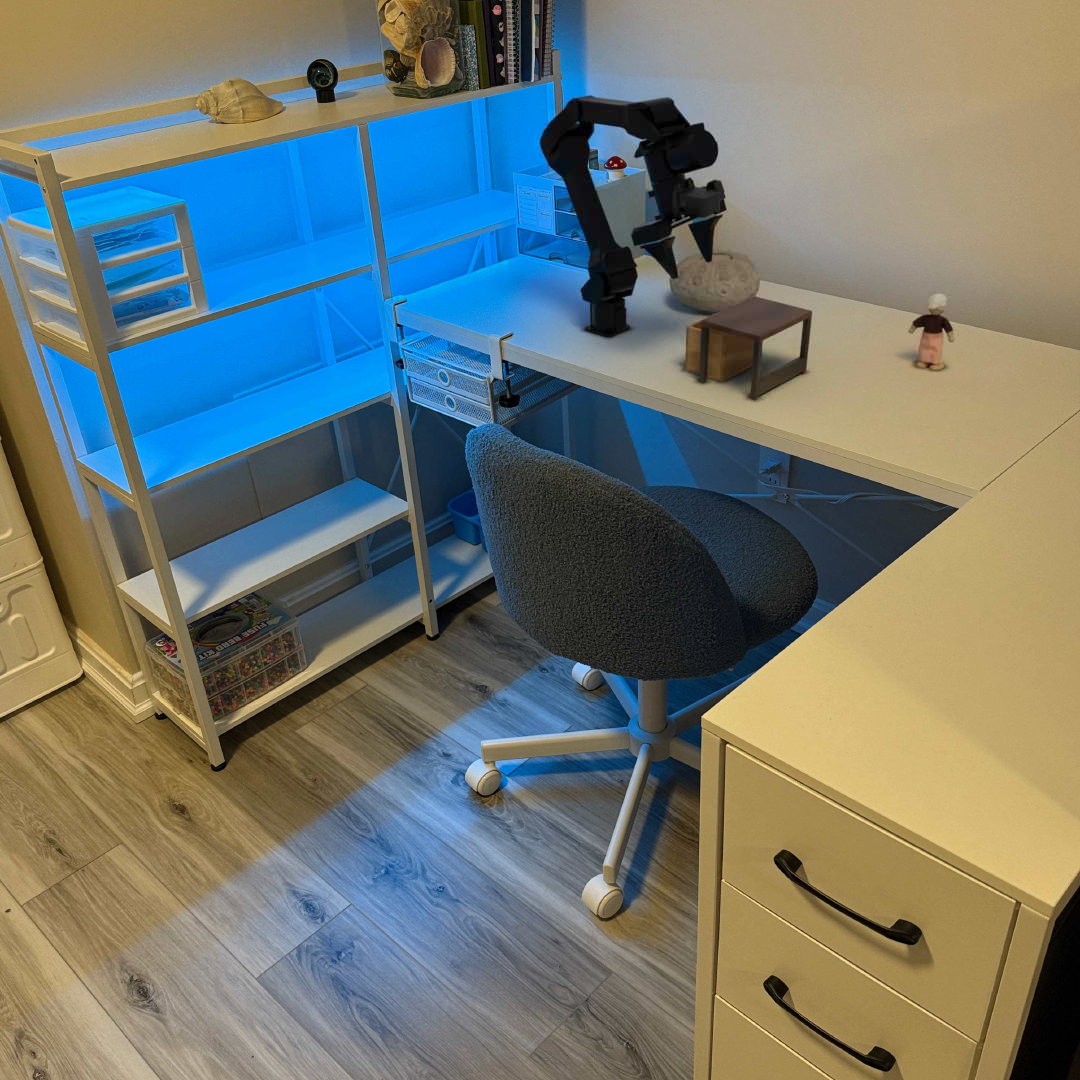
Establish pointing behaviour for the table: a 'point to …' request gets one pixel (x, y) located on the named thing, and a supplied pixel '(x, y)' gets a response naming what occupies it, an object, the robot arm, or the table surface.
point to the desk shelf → (759, 337)
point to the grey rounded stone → (715, 281)
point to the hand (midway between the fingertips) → (692, 270)
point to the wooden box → (718, 352)
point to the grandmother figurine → (932, 332)
